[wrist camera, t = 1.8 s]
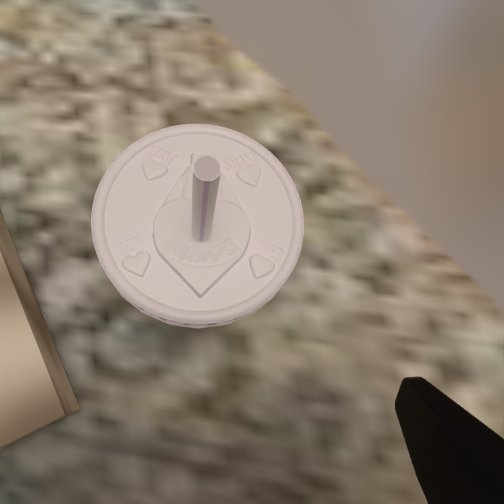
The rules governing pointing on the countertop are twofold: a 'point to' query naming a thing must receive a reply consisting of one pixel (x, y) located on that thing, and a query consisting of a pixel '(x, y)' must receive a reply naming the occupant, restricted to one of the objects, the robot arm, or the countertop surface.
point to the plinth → (26, 355)
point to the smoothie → (197, 225)
